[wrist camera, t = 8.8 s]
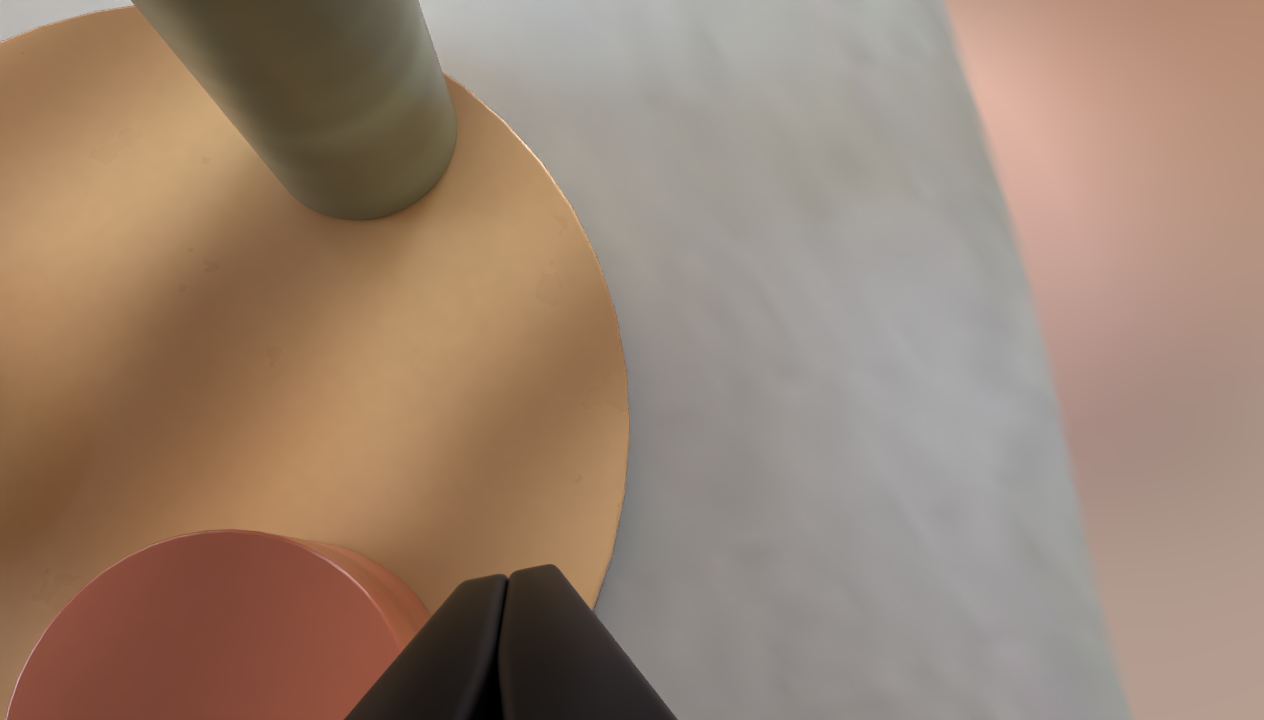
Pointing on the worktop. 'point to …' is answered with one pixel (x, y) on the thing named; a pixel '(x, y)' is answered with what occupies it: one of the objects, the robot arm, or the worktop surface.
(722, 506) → the worktop surface
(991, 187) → the worktop surface
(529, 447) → the wooden disc stand
